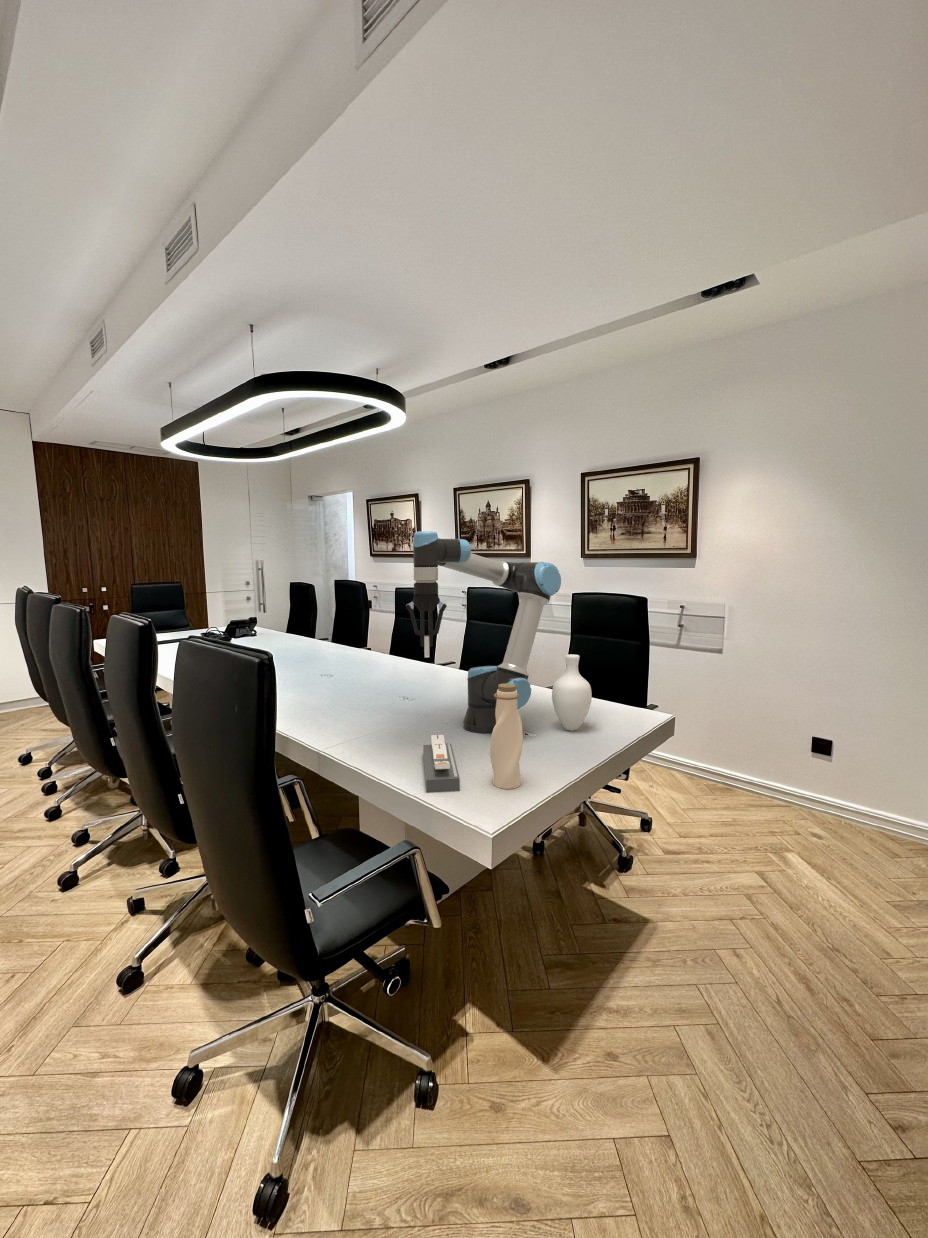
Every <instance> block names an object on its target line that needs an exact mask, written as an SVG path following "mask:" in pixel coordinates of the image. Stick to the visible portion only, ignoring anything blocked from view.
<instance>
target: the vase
mask: <svg viewBox="0 0 928 1238" xmlns="http://www.w3.org/2000/svg"><path fill="white" fill-rule="evenodd" d="M580 657H581V655H579V654H571V653H570V654H565V655H564V658H565V664H566V665H565V671H564V673H563V674H562V675H561V676H560V677H559V678H557V679H556V680H555V681H554V683H553V686H552V688H551V689H552V690H551V700H552V706H553V709H554V712H555V714H556V716H557V718H558V721H559V722H560V724H561V726H562V727H563V728H564V730H566V731H571V732H573V731H574V732H575V731H578V729H580V728H581V726H582V724H583V723H584V721H585V719H586V717H587V716H588V714H589V711H590V708H591V704H592V697H593V696H592V695H593V694H592V687H591V684H590V683H589V681H587V679H585V678H584V677H583V676H582V675H581V674H580V671H579V662H580Z"/></svg>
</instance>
